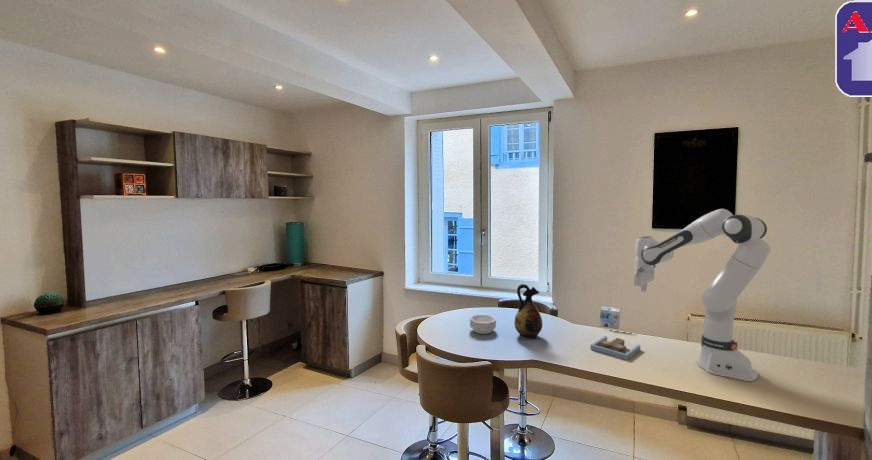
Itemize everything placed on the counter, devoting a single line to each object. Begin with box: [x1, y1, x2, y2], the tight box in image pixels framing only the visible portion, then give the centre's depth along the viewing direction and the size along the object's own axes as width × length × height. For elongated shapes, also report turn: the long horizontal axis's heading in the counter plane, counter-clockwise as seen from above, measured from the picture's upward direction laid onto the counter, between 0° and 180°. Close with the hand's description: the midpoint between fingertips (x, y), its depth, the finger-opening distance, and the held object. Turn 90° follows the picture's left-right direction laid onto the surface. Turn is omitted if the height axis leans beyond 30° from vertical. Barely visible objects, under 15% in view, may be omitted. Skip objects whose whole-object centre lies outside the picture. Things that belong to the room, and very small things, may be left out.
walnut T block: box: [599, 337, 627, 354], centre depth 208 cm, size 12×12×4 cm
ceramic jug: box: [513, 283, 543, 340], centre depth 226 cm, size 17×15×30 cm
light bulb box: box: [599, 306, 621, 330], centre depth 242 cm, size 11×7×11 cm, turn 62°
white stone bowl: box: [469, 314, 497, 335], centre depth 237 cm, size 15×15×8 cm
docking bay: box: [590, 335, 641, 361], centre depth 208 cm, size 18×17×2 cm
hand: (643, 291), depth 218 cm, fingers closed
